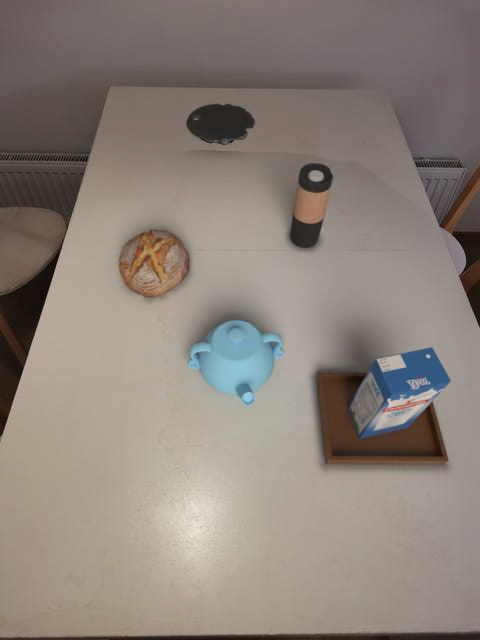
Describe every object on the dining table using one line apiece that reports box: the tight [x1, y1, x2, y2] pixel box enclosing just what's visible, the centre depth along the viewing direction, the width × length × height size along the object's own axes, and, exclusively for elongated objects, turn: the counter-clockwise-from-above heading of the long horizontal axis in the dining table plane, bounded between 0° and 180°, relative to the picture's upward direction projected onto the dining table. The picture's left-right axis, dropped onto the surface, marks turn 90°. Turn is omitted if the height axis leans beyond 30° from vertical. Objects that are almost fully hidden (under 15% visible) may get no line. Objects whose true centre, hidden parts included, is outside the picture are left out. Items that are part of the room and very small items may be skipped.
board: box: [185, 102, 256, 145], centre depth 135 cm, size 22×22×5 cm
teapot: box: [187, 319, 285, 407], centre depth 83 cm, size 20×20×13 cm
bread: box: [118, 229, 190, 298], centre depth 101 cm, size 16×20×10 cm
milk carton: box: [348, 346, 452, 439], centre depth 75 cm, size 10×6×20 cm, turn 103°
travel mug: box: [290, 162, 334, 249], centre depth 103 cm, size 8×8×20 cm
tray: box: [316, 371, 449, 466], centre depth 83 cm, size 22×18×3 cm
